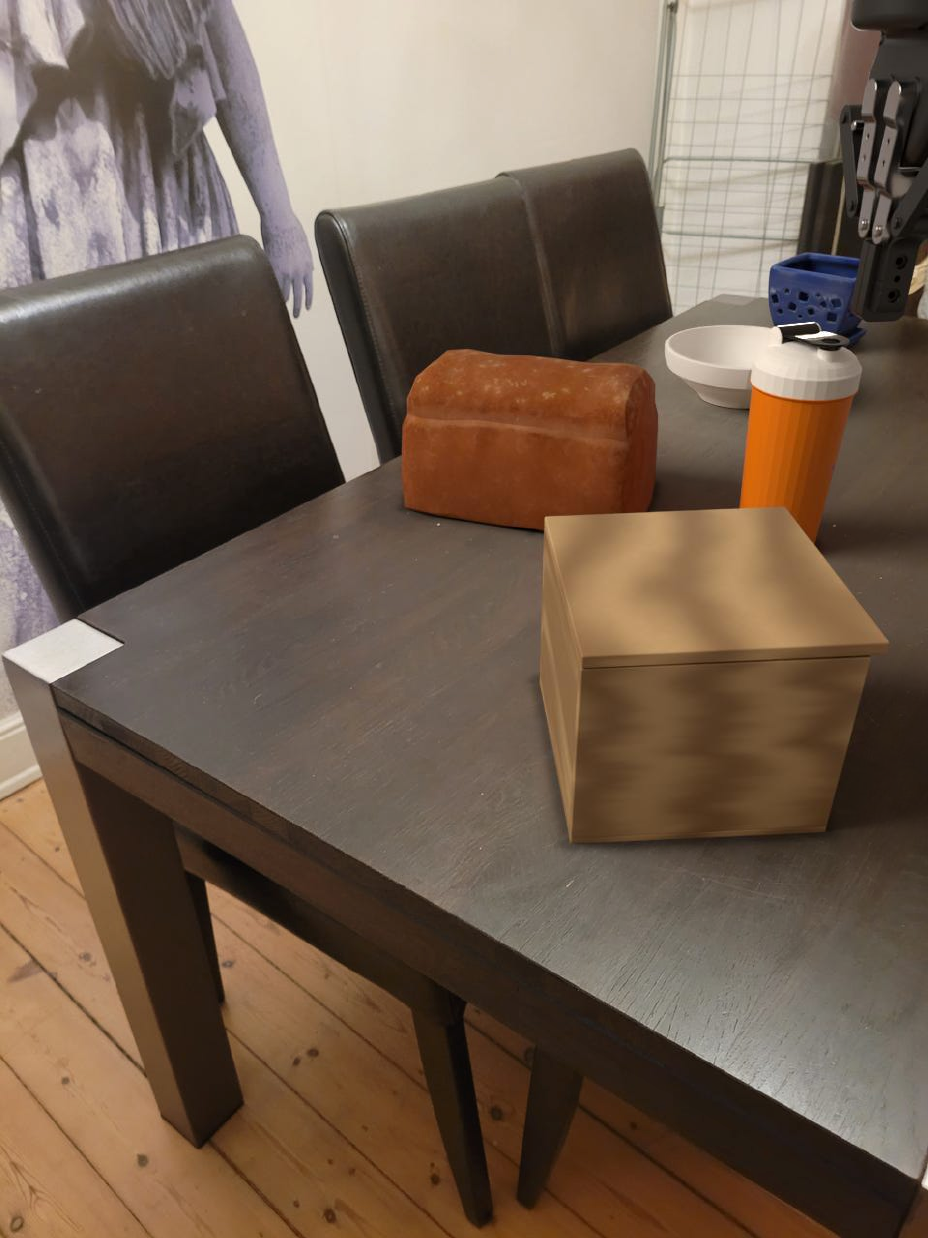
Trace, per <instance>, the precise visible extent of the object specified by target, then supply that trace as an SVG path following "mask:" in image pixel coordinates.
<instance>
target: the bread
mask: <svg viewBox="0 0 928 1238" xmlns="http://www.w3.org/2000/svg"><path fill="white" fill-rule="evenodd" d="M656 385H657V384H656V382H655V380H654V379H653V377H652V376H651V375H650V373H648V371H647V370H646V369H645V368H644V367H642V366H639V365H637V364H631V363H623V362H594V363H593V362H585V361H578V360H572V359H571V360H570V359H565V358H564V359H563V358H555V357H547V356H537V355H528V354H526V355H524V354H523V355H522V354H497V353H491V352H486V351H481V350H476V349H471V348H465V349H462V348H461V349H447V350H446V351H445V352H444V353H442V354H441V355H440V356H439V357H438V358H437V359H435V360H434V361H433V362H432V363H431V364H430V365H428V366H427V367H426V368H424V370H422V371H421V372H420V373H419V374H417V375H416V377H415V378H414V381H413V383H412V386H411V387H410V390H409V393H408V395H407V397H406V416H405V418H404V421H403V423H402V433H401V434H402V435H401V437H402V438H401V440H402V441H401V484H402V493H403V500H404V502H403V503H404V507H405V509H407V510H409V511H411V512H416V513H422V514H426V515H431V516H436V517H441V518H445V519H446V518H447V519H453V520H454V519H456V520H462V521H467V522H475V523H479V524H480V523H481V524H484V525H485V524H486V525H492V526H497V527H498V526H499V527H510V528H512V527H513V528H519V529H529V530H530V529H531V530H536V531H541V532H544V528H545V526H544V525H545V517H548V516H572V515H596V514H620V513H644V512H648V510H649V509H648V508H649V507H650V505H651V503H652V499H653V495H654V488H655V484H656V473H657V471H656V470H657V457H658V456H657V455H658V439H659V412H658V408H657V404H656Z"/></svg>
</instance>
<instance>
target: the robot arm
mask: <svg viewBox="0 0 928 1238" xmlns="http://www.w3.org/2000/svg"><path fill="white" fill-rule="evenodd" d="M849 20H850V24H851V26H852V27H853V29H855V30H856V31H861V32H880V33H881V34H880V41H879V43H878V46H877V49H876V52H875V56H874V58H873V61H872V64H871V65H870V69H869V73H868V78H867V84H866V86H865V89H864V94H863V100H862V102H860V103H858V104H844V106H843V107H842V109H841V111H840V115H839V119H838V121H839V124H838V126H839V135H840V138H839V139H840V148H841V149H840V150H841V159H842V172H843V182H844V194H845V204H846V205H845V206H846V215H847V217H848V218H849V219H858V225H857V232H858V236H859V238H861V239H864V240H863V242H862V247H861V253H860V258H859V259H860V262H859V267H858V272H857V277H856V282H855V287H854V292H853V297H852V302H851V311H852V313H853V314H855V315H856V316H858V317H859V318H861V319H862V321H864V322H866V323H888V322H889V323H890V322H891V323H892V322H897V321H899V320H900V319H901V318H902V317H903V316H904V315H905V311H906V307H907V303H908V299H909V294H910V290H911V286H912V282H913V277H914V273H915V268H916V265H917V260H918V256H919V251H920V247H921V245H922V244H926V243H928V0H852V3H851V7H850V15H849Z"/></svg>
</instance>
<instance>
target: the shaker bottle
mask: <svg viewBox="0 0 928 1238" xmlns="http://www.w3.org/2000/svg"><path fill="white" fill-rule="evenodd" d="M771 328H772V329H771V330H770V332H769V336H768V342H767V347H766V348H765V349H763V350H762V351H761V352H760V353H759V354H758V356H756V357H755V359H754V361H753V367H752V373H751V378H750V383H751V384H752V393H751V403H750V408H749V412H748V413H749V414H748V423H747V433H746V443H745V451H744V461H743V471H742V481H741V490H740V500H739V508H763V507H785V508H786V509H787V510H788V511H789V513H790V514H791V515H792V517H793V518H794V519H795V520H796V522H797V523H798V524H799V526H800V527H801V528H802V530H803V531H804V532H805V533H806V535H807V536H808V537H809V539H810V540H811V541H812V542H813V544H814V545H815V544H816V540H817V536H818V532H819V528H820V525H821V521H822V517H823V513H824V509H825V507H826V502H827V498H828V494H829V490H830V486H831V483H832V480H833V476H834V472H835V468H836V464H837V461H838V457H839V453H840V450H841V446H842V441H843V439H844V433H845V430H846V426H847V424H848V423H847V422H848V419H849V416H850V412H851V408H852V405H853V400H854V397H855V395H856V394H857V393H859V389H860V382H861V378H862V373H863V367H862V364H861V363H860V361H859V359H858V357H857V355H855V354H854V353H853V352H852V351H851V350H849V349H847V348H844V346H847V345H848V344H849V339H848V338H846V337H843V336H841V335H837V334H834V333H829V332H822V331H821V328H820V326H819V324H818V323H815V322H813V323H803V324H793V325H783V326H772V327H771Z"/></svg>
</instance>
